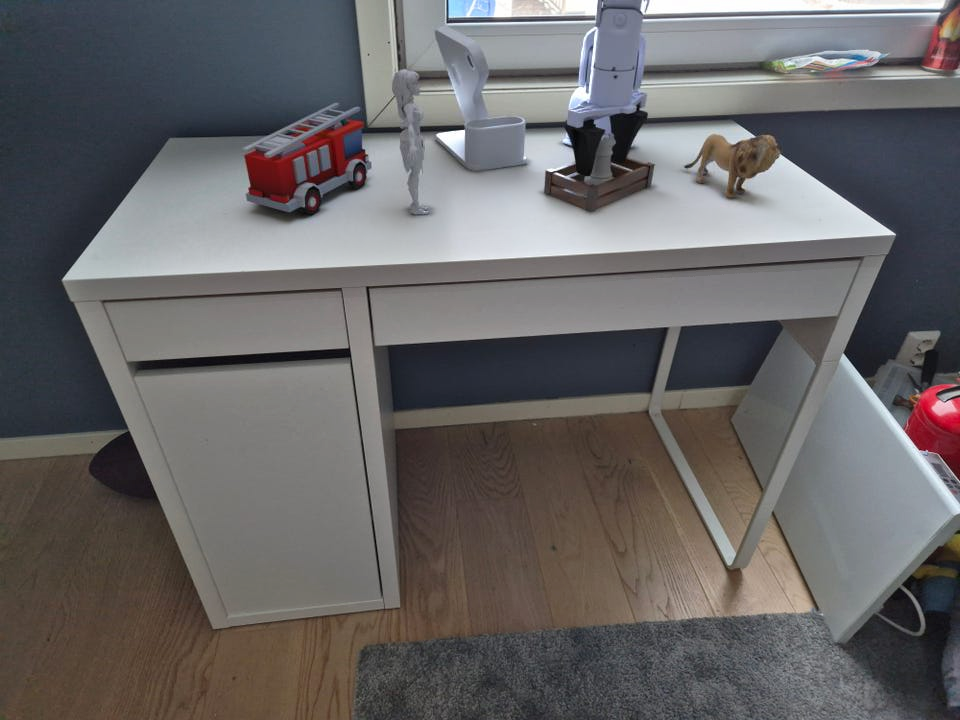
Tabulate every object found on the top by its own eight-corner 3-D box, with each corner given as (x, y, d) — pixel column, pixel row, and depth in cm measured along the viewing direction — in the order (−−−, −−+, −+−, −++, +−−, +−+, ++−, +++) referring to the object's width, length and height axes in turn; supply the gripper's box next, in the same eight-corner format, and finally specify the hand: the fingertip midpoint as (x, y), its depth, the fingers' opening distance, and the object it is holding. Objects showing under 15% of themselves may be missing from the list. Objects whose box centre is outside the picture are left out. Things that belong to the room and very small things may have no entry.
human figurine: (432, 230, 84) (427, 82, 73) (403, 232, 83) (394, 83, 73) (423, 193, 93) (417, 58, 83) (397, 195, 93) (387, 59, 82)
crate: (543, 192, 94) (545, 170, 92) (604, 170, 102) (607, 148, 100) (591, 212, 89) (593, 188, 87) (651, 186, 96) (655, 164, 94)
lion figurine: (773, 199, 93) (792, 136, 88) (749, 207, 91) (767, 143, 85) (694, 167, 103) (707, 108, 97) (670, 174, 100) (682, 114, 95)
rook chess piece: (615, 186, 96) (623, 131, 92) (610, 197, 93) (618, 141, 88) (586, 182, 98) (592, 127, 93) (579, 193, 94) (585, 137, 89)
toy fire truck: (378, 178, 98) (373, 109, 92) (294, 225, 84) (281, 149, 78) (331, 167, 101) (322, 100, 95) (243, 211, 88) (226, 136, 82)
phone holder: (530, 164, 103) (537, 39, 92) (470, 172, 100) (471, 45, 89) (487, 131, 116) (489, 18, 105) (433, 137, 113) (429, 22, 102)
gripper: (602, 81, 79) (589, 188, 87) (671, 63, 87) (654, 163, 95) (559, 70, 83) (550, 173, 91) (628, 54, 91) (615, 150, 99)
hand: (600, 167), depth 93 cm, fingers open, 7 cm apart
